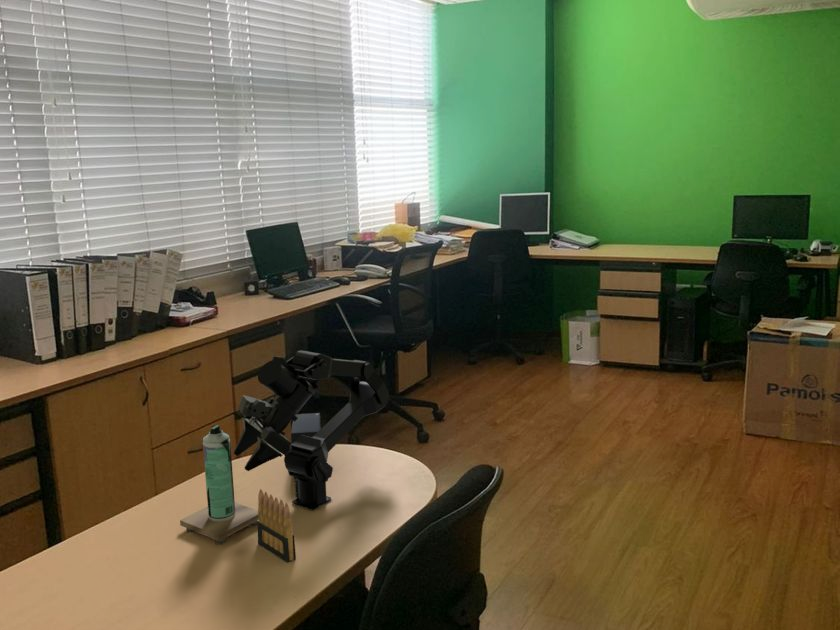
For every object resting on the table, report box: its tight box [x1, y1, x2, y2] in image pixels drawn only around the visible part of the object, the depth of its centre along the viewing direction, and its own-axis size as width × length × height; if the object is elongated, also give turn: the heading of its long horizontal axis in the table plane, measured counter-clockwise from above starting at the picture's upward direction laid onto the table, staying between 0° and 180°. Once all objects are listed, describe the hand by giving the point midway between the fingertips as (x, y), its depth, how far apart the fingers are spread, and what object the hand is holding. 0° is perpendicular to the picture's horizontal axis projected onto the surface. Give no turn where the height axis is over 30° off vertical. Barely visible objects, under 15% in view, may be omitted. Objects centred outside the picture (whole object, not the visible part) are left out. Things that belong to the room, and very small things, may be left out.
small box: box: [290, 412, 322, 479], centre depth 193 cm, size 13×7×12 cm, turn 6°
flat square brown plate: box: [179, 502, 259, 545], centre depth 164 cm, size 12×12×2 cm
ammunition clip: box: [256, 488, 297, 564], centre depth 153 cm, size 11×2×12 cm, turn 44°
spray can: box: [202, 424, 236, 522], centre depth 162 cm, size 6×6×20 cm
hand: (240, 462), depth 164 cm, fingers open, 9 cm apart
